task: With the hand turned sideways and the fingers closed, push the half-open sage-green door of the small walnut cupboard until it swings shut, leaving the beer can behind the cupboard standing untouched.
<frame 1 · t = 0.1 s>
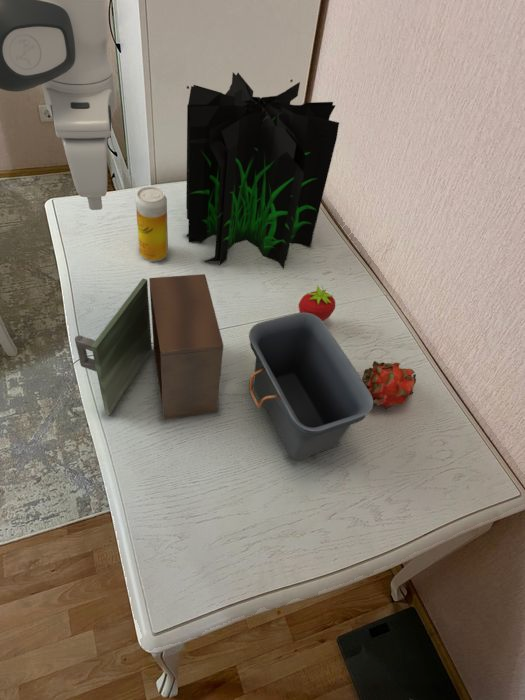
hand: (94, 188, 75), 28 cm above the table, tool pointing down, fingers open, 8 cm apart
cupboard door: (115, 344, 82), point 9 cm above the table, hinge at 32.0°
dragon fruit: (382, 395, 93), on the table
cupboard: (184, 379, 90), on the table
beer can: (154, 254, 111), on the table
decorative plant: (249, 232, 120), on the table
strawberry: (311, 324, 103), on the table
storage bin: (288, 418, 87), on the table
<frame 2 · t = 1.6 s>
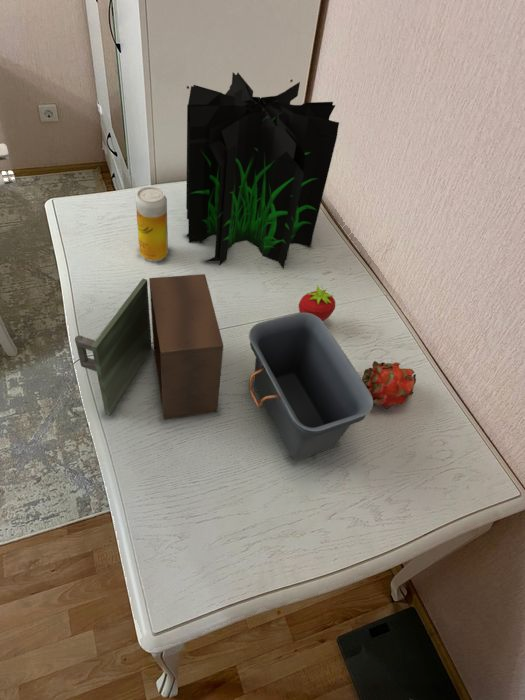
hand: (11, 164, 78), 28 cm above the table, tool horizontal, fingers open, 8 cm apart
nothing on the table moved.
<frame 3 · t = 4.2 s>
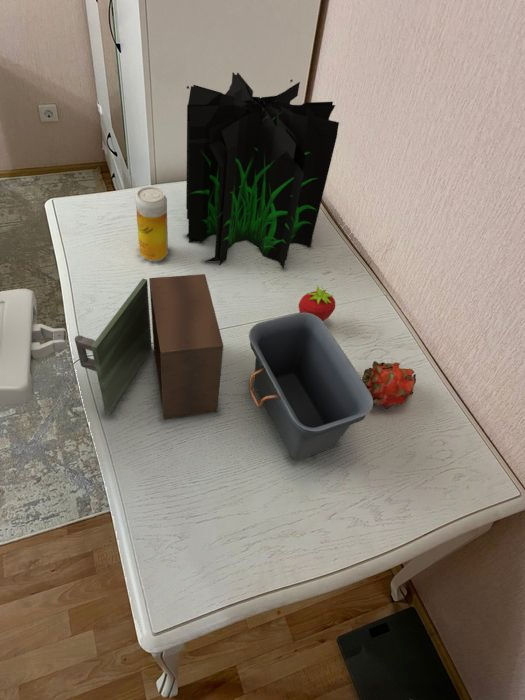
hand: (66, 338, 76), 13 cm above the table, tool horizontal, fingers closed
nothing on the table moved.
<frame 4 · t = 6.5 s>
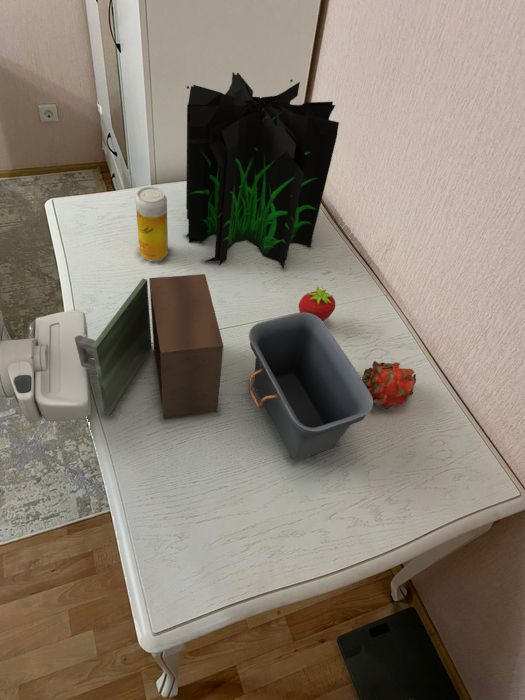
hand: (117, 356, 82), 7 cm above the table, tool horizontal, fingers closed
cupboard door: (115, 344, 82), point 9 cm above the table, hinge at 31.9°, touching gripper
everything else where it was.
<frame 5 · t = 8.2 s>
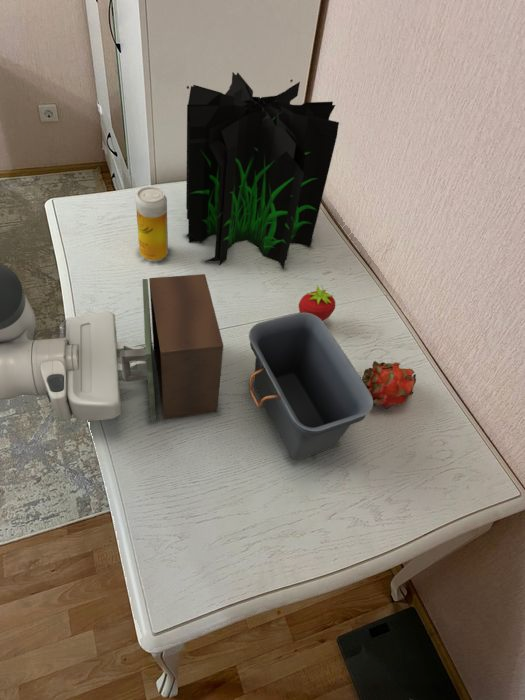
hand: (146, 357, 83), 7 cm above the table, tool horizontal, fingers closed
cupboard door: (138, 351, 81), point 9 cm above the table, hinge at 3.8°, touching gripper
everything else where it was.
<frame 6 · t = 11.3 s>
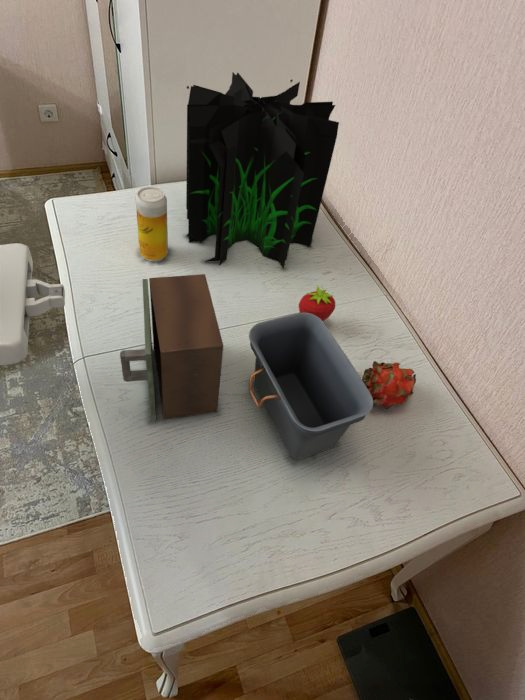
hand: (64, 295, 70), 22 cm above the table, tool horizontal, fingers closed
cupboard door: (138, 351, 81), point 9 cm above the table, hinge at 3.8°
everything else where it was.
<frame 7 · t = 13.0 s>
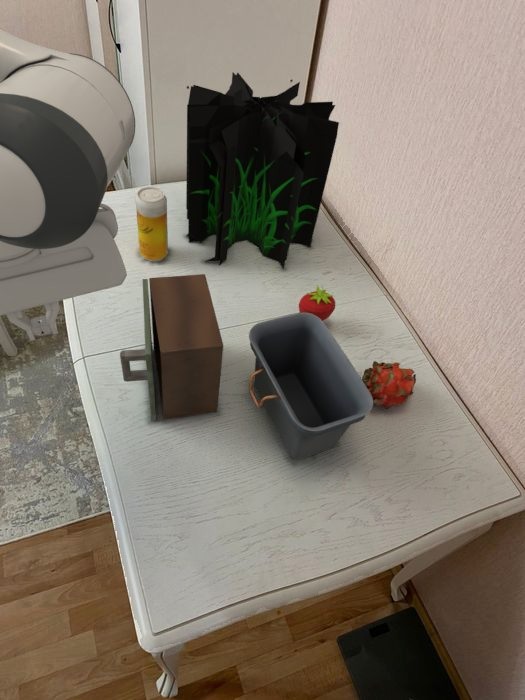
hand: (44, 334, 55), 29 cm above the table, tool pointing down, fingers closed
nothing on the table moved.
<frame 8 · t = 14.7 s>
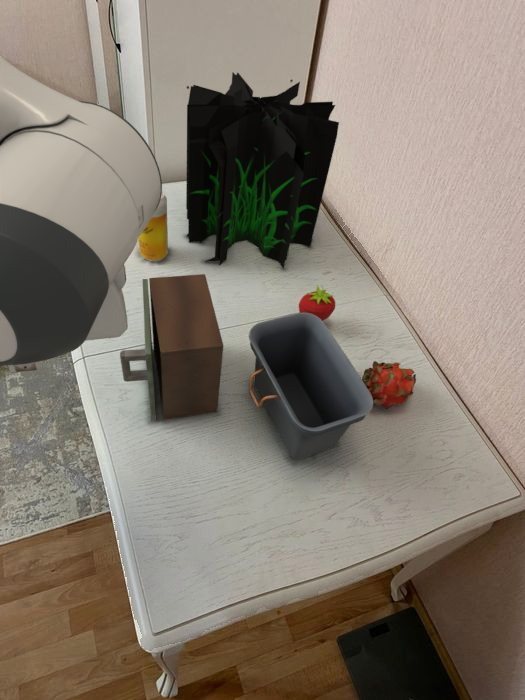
hand: (27, 366, 50), 31 cm above the table, tool pointing down, fingers closed
nothing on the table moved.
at the end: cupboard door at +4° (first picture: +32°); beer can moved 0.2 cm from its start; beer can tilted 0° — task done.
